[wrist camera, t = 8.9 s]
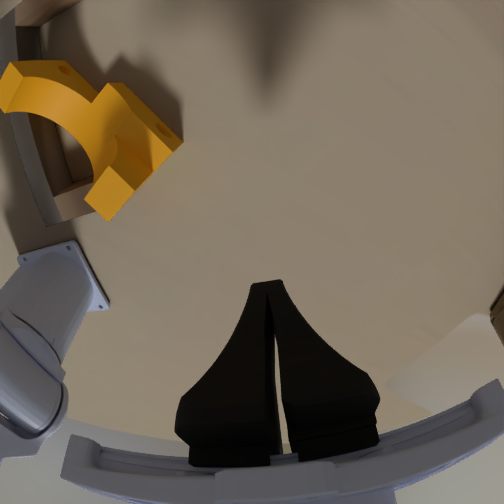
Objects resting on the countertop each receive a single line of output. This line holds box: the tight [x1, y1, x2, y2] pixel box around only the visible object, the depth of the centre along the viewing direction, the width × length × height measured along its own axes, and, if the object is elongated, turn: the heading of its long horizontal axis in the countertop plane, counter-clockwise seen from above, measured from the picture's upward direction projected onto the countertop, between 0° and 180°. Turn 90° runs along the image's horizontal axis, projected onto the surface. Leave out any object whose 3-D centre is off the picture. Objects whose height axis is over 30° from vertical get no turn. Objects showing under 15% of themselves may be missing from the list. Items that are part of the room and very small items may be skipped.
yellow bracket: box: [0, 60, 183, 222], centre depth 13 cm, size 12×4×6 cm, turn 40°
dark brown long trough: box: [0, 0, 96, 227], centre depth 13 cm, size 7×18×3 cm, turn 10°
